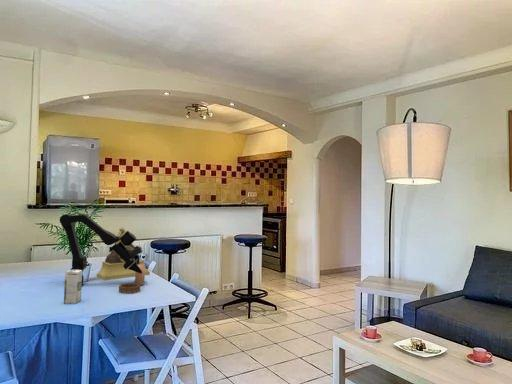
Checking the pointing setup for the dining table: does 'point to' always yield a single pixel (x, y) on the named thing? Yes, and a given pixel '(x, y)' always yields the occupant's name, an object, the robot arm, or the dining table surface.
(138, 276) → the terracotta canister
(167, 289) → the dining table surface
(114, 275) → the decorative clock
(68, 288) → the syrup box
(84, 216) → the robot arm
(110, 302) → the dining table surface
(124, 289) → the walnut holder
